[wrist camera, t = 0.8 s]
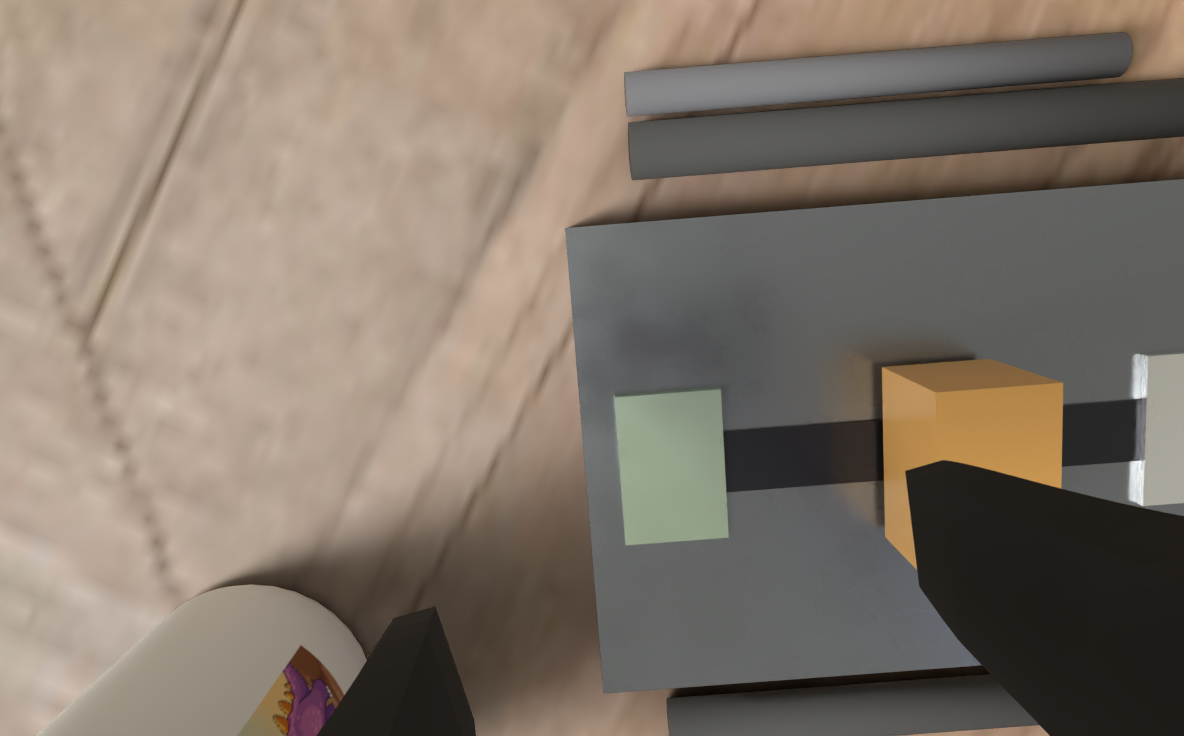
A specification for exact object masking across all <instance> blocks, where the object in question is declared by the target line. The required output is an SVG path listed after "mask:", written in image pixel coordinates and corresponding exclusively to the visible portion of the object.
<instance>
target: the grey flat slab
mask: <svg viewBox="0 0 1184 736" xmlns="http://www.w3.org/2000/svg"><path fill="white" fill-rule="evenodd" d="M565 231H566V243H567V255H568V267H569V279H570V291H571V304H572V316H573V328H574V340H575V352H576V364H577V377H578V389H579V401H580V413H581V425H582V437H583V449H584V462H585V474H586V486H587V498H588V510H589V522H590V534H591V547H592V559H593V571H594V583H595V595H596V607H597V620H598V632H599V644H600V656H601V668H602V680H603V692H604V693H617V692H630V691H644V690H657V689H670V688H684V687H697V686H711V685H724V684H738V683H751V682H764V681H778V680H791V679H805V678H818V677H832V676H845V675H859V674H872V673H885V672H899V671H912V670H926V669H939V668H953V667H966V666H979V665H981V664H980V663H979V662H978V661H977V660H976V658H975V657H974V656H973V655H972V654H971V653H970V652H969V651H968V650H967V649H966V648H965V647H964V646H963V645H962V644H961V642H960V641H959V640H958V639H957V638H956V636H955V635H954V634H953V632H952V631H951V630H950V628H949V627H948V626H947V625H946V623H945V622H944V621H943V619H942V618H941V617H940V615H939V614H938V612H937V611H936V610H935V608H934V607H933V605H932V604H931V603H930V601H929V600H928V598H927V597H926V595H925V594H924V593H923V591H922V590H921V588H920V587H919V581H918V572H917V570H916V569H915V568H914V566H913V565H912V564H911V563H910V562H909V561H908V560H907V559H906V558H905V557H904V556H903V555H902V554H901V553H900V552H899V551H898V550H897V549H896V548H895V547H894V546H893V545H892V544H891V543H890V542H889V540H888V539H887V538H886V537H885V507H884V453H883V400H882V367H889V366H902V365H915V364H928V363H941V362H954V361H966V360H979V359H992V360H995V361H998V362H1001V363H1004V364H1007V365H1010V366H1013V367H1017V368H1020V369H1023V370H1026V371H1029V372H1032V373H1035V374H1038V375H1041V376H1044V377H1047V378H1050V379H1053V380H1057V381H1060V382H1063V426H1062V478H1061V489H1065V490H1069V491H1073V492H1077V493H1081V494H1085V495H1089V496H1093V497H1097V498H1101V499H1105V500H1109V501H1114V502H1118V503H1123V504H1127V505H1132V506H1137V507H1141V508H1146V509H1151V510H1156V511H1160V512H1165V513H1170V514H1175V515H1181V516H1184V179H1178V180H1165V181H1153V182H1140V183H1127V184H1115V185H1102V186H1089V187H1077V188H1064V189H1052V190H1039V191H1026V192H1014V193H1001V194H988V195H976V196H963V197H950V198H938V199H925V200H913V201H900V202H887V203H875V204H862V205H849V206H837V207H824V208H812V209H799V210H786V211H774V212H761V213H748V214H736V215H723V216H710V217H698V218H685V219H673V220H660V221H647V222H635V223H622V224H609V225H597V226H584V227H571V228H565Z"/></svg>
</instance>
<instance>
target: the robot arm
mask: <svg viewBox="0 0 1184 736" xmlns="http://www.w3.org/2000/svg"><path fill="white" fill-rule="evenodd" d="M905 474H906V482H907V491H908V499H909V507H910V515H911V523H912V532H913V540H914V548H915V556H916V564H917V572H918V581H919V587H920V588H921V590H922V591H923V593H924V594H925V595H926V597H927V598H928V600H929V601H930V603H931V604H932V605H933V607H934V608H935V610H936V611H937V612H938V614H939V615H940V617H941V618H942V619H943V621H944V622H945V623H946V625H947V626H948V627H949V628H950V630H951V631H952V632H953V634H954V635H955V636H956V638H957V639H958V640H959V641H960V642H961V644H962V645H963V646H964V647H965V648H966V649H967V650H968V651H969V652H970V653H971V654H972V655H973V656H974V657H975V658H976V660H977V661H978V662H979V663H980V664H981V665H982V666H983V667H984V668H985V669H986V670H987V671H988V672H989V673H990V674H991V675H992V676H993V677H994V678H995V679H996V680H997V682H998V683H999V684H1000V685H1001V686H1002V687H1003V688H1004V689H1005V690H1006V691H1007V692H1008V693H1009V694H1010V695H1011V696H1012V697H1013V698H1014V699H1015V700H1016V701H1017V702H1018V703H1019V704H1020V705H1021V706H1022V707H1023V708H1024V709H1025V710H1026V711H1027V712H1028V713H1029V714H1030V715H1031V716H1032V718H1033V719H1034V720H1035V721H1036V722H1037V723H1038V724H1039V725H1040V726H1041V727H1042V728H1043V729H1044V730H1045V731H1046V732H1047V733H1048V734H1049V735H1050V736H1184V516H1181V515H1175V514H1170V513H1165V512H1160V511H1156V510H1151V509H1146V508H1141V507H1137V506H1132V505H1127V504H1123V503H1118V502H1114V501H1109V500H1105V499H1101V498H1097V497H1093V496H1089V495H1085V494H1081V493H1077V492H1073V491H1069V490H1065V489H1061V488H1057V487H1053V486H1049V485H1046V484H1042V483H1038V482H1034V481H1030V480H1027V479H1023V478H1019V477H1015V476H1012V475H1008V474H1004V473H1000V472H997V471H993V470H989V469H985V468H981V467H977V466H972V465H968V464H964V463H959V462H953V461H947V460H941V461H938V462H934V463H931V464H927V465H924V466H920V467H917V468H913V469H910V470H907V471H905ZM316 736H476V733H475V724H474V718H473V715H472V712H471V709H470V707H469V704H468V701H467V698H466V695H465V692H464V689H463V686H462V683H461V680H460V677H459V674H458V671H457V668H456V666H455V663H454V660H453V657H452V654H451V651H450V648H449V645H448V642H447V639H446V636H445V633H444V630H443V627H442V624H441V622H440V619H439V616H438V613H437V610H436V607H432V608H428V609H425V610H421V611H418V612H414V613H411V614H407V615H404V616H400V617H397V618H394V619H393V620H392V622H391V623H390V625H389V626H388V628H387V629H386V631H385V633H384V634H383V636H382V637H381V639H380V640H379V642H378V644H377V645H376V647H375V648H374V650H373V652H372V653H371V655H370V656H369V658H368V659H367V661H366V663H365V664H364V666H363V667H362V669H361V671H360V672H359V674H358V675H357V677H356V678H355V680H354V682H353V683H352V685H351V686H350V688H349V689H348V691H347V692H346V694H345V695H344V697H343V698H342V700H341V701H340V703H339V704H338V706H337V707H336V709H335V710H334V712H333V713H332V715H331V716H330V718H329V719H328V720H327V722H326V723H325V724H324V726H323V727H322V728H321V730H320V731H319V733H318V734H317V735H316Z"/></svg>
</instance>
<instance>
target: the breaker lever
mask: <svg viewBox="0 0 1184 736" xmlns="http://www.w3.org/2000/svg"><path fill="white" fill-rule="evenodd" d="M882 400H883V453H884V507H885V537H886V538H887V539H888V540H889V542H890V543H891V544H892V545H893V546H894V547H895V548H896V549H897V550H898V551H899V552H900V553H901V554H902V555H903V556H904V557H905V558H906V559H907V560H908V561H909V562H910V563H911V564H912V565H913V566H914V568H915V569H916V570H917V564H916V556H915V548H914V540H913V532H912V523H911V515H910V507H909V499H908V491H907V482H906V474H905V471H907V470H910V469H913V468H917V467H920V466H924V465H927V464H931V463H934V462H938V461H941V460H947V461H953V462H959V463H964V464H968V465H972V466H977V467H981V468H985V469H989V470H993V471H997V472H1000V473H1004V474H1008V475H1012V476H1015V477H1019V478H1023V479H1027V480H1030V481H1034V482H1038V483H1042V484H1046V485H1049V486H1053V487H1057V488H1061V478H1062V426H1063V382H1060V381H1057V380H1053V379H1050V378H1047V377H1044V376H1041V375H1038V374H1035V373H1032V372H1029V371H1026V370H1023V369H1020V368H1017V367H1013V366H1010V365H1007V364H1004V363H1001V362H998V361H995V360H992V359H979V360H966V361H954V362H941V363H928V364H915V365H902V366H889V367H882Z"/></svg>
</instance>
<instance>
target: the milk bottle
mask: <svg viewBox="0 0 1184 736" xmlns="http://www.w3.org/2000/svg"><path fill="white" fill-rule="evenodd" d="M366 661H367V660H366V657H365V655H364V652H363V650H362V647H361V646H360V644H359V643H358V642H357V640H356V639H355V637H354V636H353V634H352V632H351V631H350V629H349V628H348V627H347V626H346V625H345V624H344V623H343V622H342V621H341V620H340V619H339V618H338V617H337V616H336V615H335V614H334V613H333V612H331V611H330V610H328V609H327V608H325V607H324V606H322V605H321V604H319V603H318V602H317V601H315V600H313V599H311V598H308V597H306V596H304V595H302V594H300V593H297V592H295V591H291V590H287V589H283V588H279V587H275V586H264V585H252V584H249V585H239V586H230V587H224V588H219V589H215V590H212V591H209V592H206V593H203V594H201V595H198V596H196V597H194V598H192V599H190V600H188V601H187V602H185V603H184V604H182V605H181V606H179V607H178V608H177V609H175V610H174V611H173V612H171V613H170V614H169V615H168V616H167V617H165V618H164V619H163V620H162V621H161V622H159V623H158V624H157V625H156V626H155V627H153V628H152V629H151V630H150V631H149V632H148V633H147V634H146V635H145V636H144V637H143V638H141V639H140V640H139V641H138V642H137V643H136V644H135V645H134V646H133V647H132V648H130V649H129V650H128V651H127V652H126V653H125V654H124V655H123V656H122V657H121V658H119V659H118V660H117V661H116V662H115V663H114V664H113V665H112V666H111V667H110V668H109V669H107V670H106V671H105V672H104V673H103V674H102V675H101V676H100V677H99V678H98V679H97V680H96V681H94V682H93V683H92V684H91V685H90V686H89V687H88V688H87V689H86V690H85V691H84V692H83V693H81V694H80V695H79V696H78V697H77V698H76V699H75V700H74V701H73V702H72V703H71V704H69V705H68V706H67V707H66V708H65V709H64V710H63V711H62V712H61V713H60V714H59V715H58V716H56V717H55V718H54V719H53V720H52V721H51V722H50V723H49V724H48V725H47V726H46V727H45V728H43V729H42V730H41V731H40V732H39V733H38V734H37V735H36V736H316V735H317V734H318V733H319V731H320V730H321V728H322V727H323V726H324V724H325V723H326V722H327V720H328V719H329V718H330V716H331V715H332V713H333V712H334V710H335V709H336V707H337V706H338V704H339V703H340V701H341V700H342V698H343V697H344V695H345V694H346V692H347V691H348V689H349V688H350V686H351V685H352V683H353V682H354V680H355V678H356V677H357V675H358V674H359V672H360V671H361V669H362V667H363V666H364V664H365V663H366Z"/></svg>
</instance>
